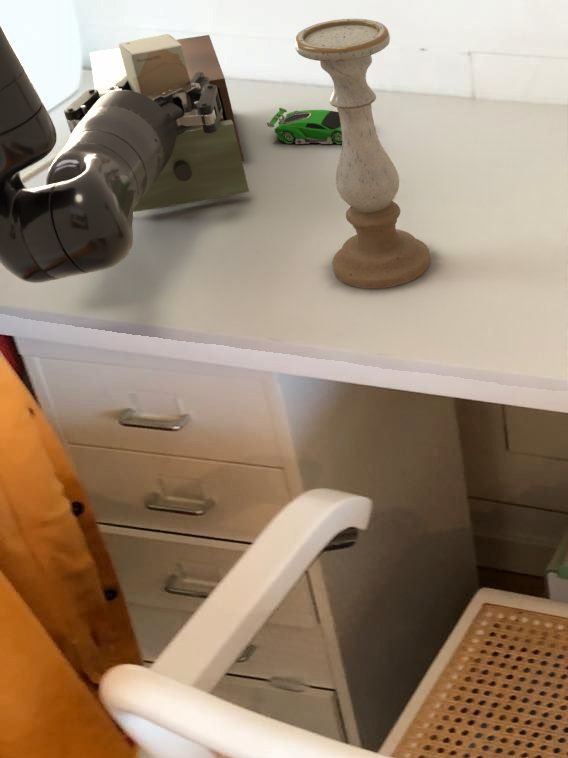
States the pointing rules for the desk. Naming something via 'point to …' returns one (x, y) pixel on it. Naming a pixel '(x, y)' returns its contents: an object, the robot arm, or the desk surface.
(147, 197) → the drawer
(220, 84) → the cabinet
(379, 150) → the candle holder
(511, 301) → the desk surface
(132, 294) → the desk surface
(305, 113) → the toy car
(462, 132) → the desk surface
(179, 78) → the box
